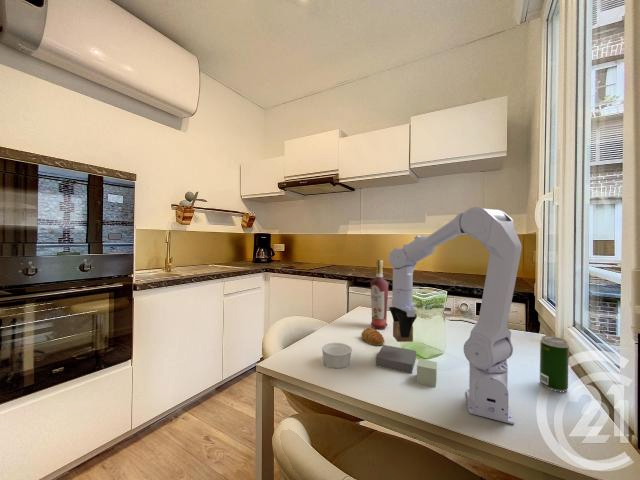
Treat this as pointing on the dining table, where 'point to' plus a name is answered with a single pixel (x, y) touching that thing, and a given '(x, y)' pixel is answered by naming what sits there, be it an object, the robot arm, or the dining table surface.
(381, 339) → the pastry
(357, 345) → the dining table surface
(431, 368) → the sage green cube
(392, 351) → the charcoal slab
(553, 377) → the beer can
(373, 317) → the liquor
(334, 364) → the ramekin
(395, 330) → the walnut cube
